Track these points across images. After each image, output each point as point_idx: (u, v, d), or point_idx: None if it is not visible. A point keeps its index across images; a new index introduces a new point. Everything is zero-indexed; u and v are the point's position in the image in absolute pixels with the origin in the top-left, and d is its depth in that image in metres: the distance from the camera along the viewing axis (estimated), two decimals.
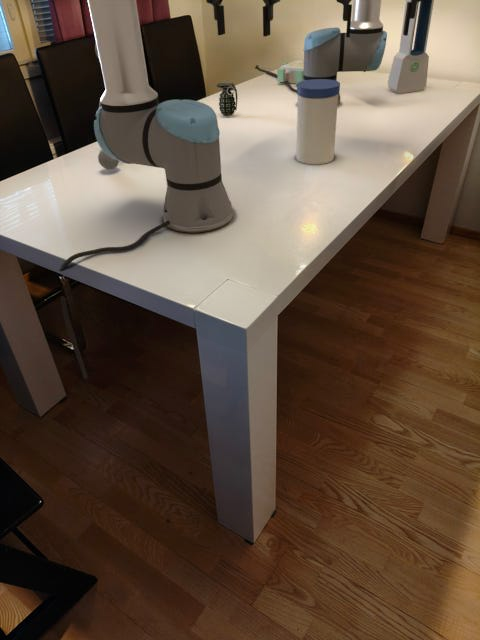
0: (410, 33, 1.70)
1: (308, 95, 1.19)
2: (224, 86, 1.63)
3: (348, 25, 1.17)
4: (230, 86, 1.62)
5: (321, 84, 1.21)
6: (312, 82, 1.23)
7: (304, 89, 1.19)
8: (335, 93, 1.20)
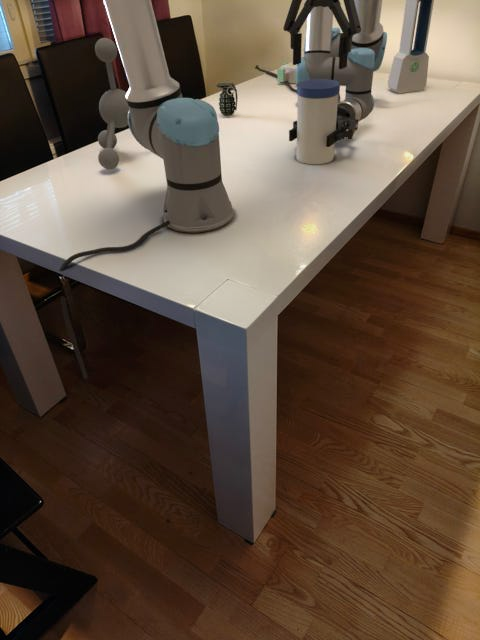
0: (410, 33, 1.70)
1: (308, 95, 1.19)
2: (224, 86, 1.63)
3: None
4: (230, 86, 1.62)
5: (321, 84, 1.21)
6: (312, 82, 1.23)
7: (304, 89, 1.19)
8: (335, 93, 1.20)
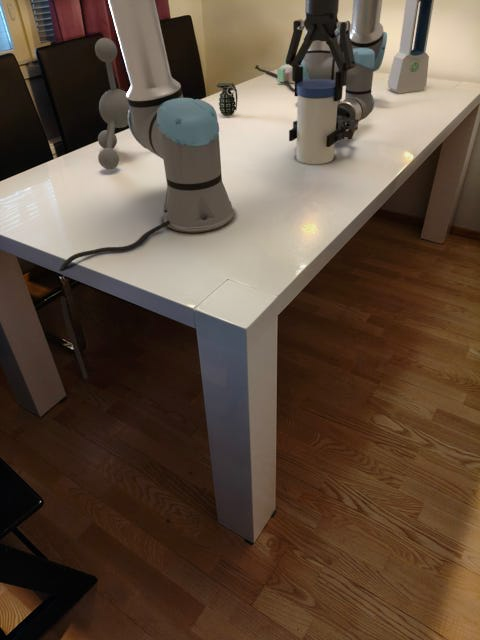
0: (410, 33, 1.70)
1: (308, 95, 1.19)
2: (224, 86, 1.63)
3: None
4: (230, 86, 1.62)
5: (321, 84, 1.21)
6: (312, 82, 1.23)
7: (304, 89, 1.19)
8: None
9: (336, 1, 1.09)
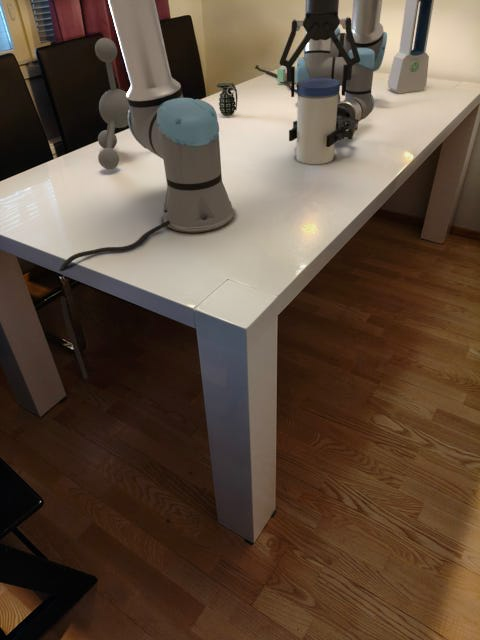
0: (410, 33, 1.70)
1: (335, 92, 1.20)
2: (224, 86, 1.63)
3: None
4: (230, 86, 1.62)
5: (321, 82, 1.22)
6: (310, 84, 1.21)
7: (332, 87, 1.18)
8: None
9: None
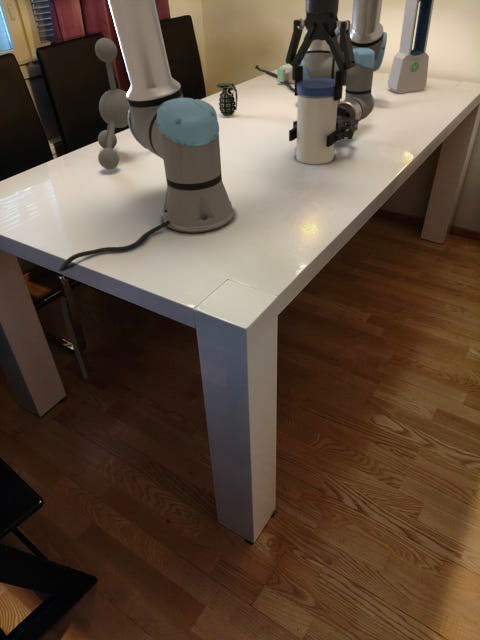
0: (410, 33, 1.70)
1: None
2: (224, 86, 1.63)
3: None
4: (230, 86, 1.62)
5: (321, 82, 1.22)
6: (310, 84, 1.21)
7: (332, 87, 1.18)
8: None
9: (336, 0, 1.09)
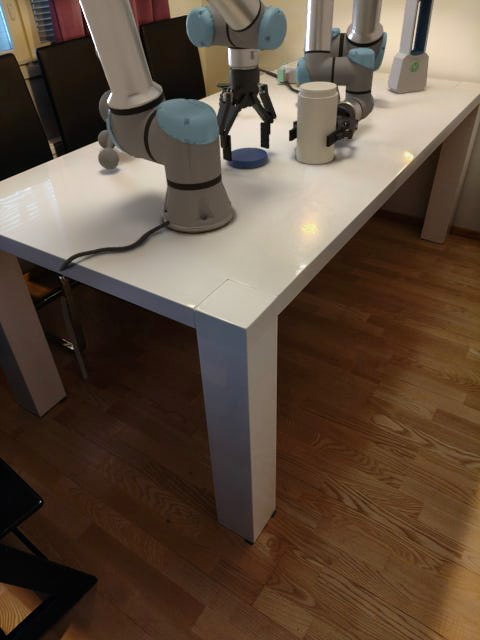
0: (410, 33, 1.70)
1: None
2: (224, 86, 1.63)
3: None
4: (230, 86, 1.62)
5: (246, 153, 1.33)
6: (249, 156, 1.30)
7: None
8: None
9: None
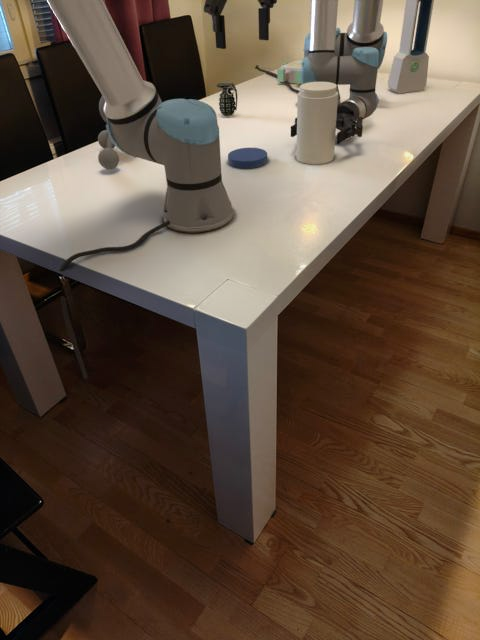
0: (410, 33, 1.70)
1: None
2: (224, 86, 1.63)
3: None
4: (230, 86, 1.62)
5: (246, 153, 1.33)
6: (249, 156, 1.30)
7: None
8: None
9: None
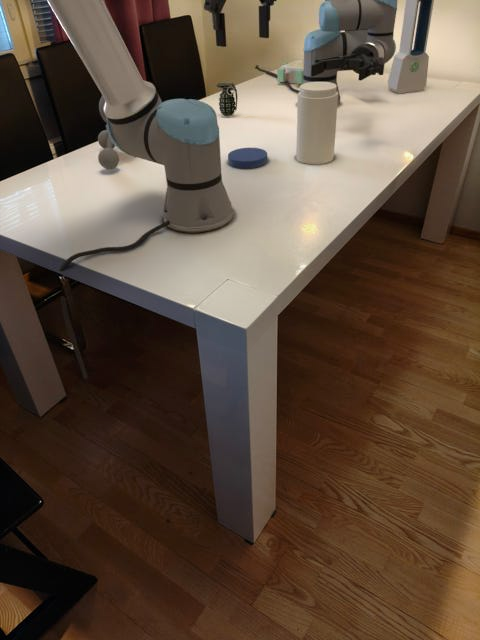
0: (410, 33, 1.70)
1: None
2: (224, 86, 1.63)
3: (363, 78, 1.27)
4: (230, 86, 1.62)
5: (246, 153, 1.33)
6: (249, 156, 1.30)
7: None
8: None
9: None
